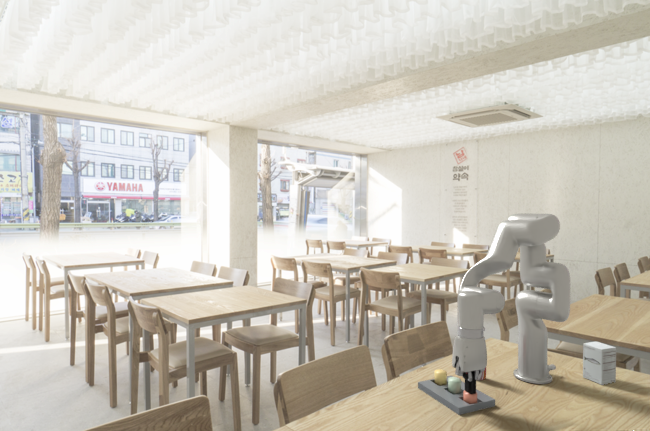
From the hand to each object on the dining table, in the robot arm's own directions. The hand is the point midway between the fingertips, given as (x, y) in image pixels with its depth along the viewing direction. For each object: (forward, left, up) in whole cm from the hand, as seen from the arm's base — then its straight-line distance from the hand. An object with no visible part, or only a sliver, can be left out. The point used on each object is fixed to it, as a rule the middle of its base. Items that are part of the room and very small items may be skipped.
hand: (470, 392), depth 126 cm
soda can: (-18, -17, -6) cm, 25 cm away
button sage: (0, -7, -3) cm, 8 cm away
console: (0, -7, -5) cm, 9 cm away
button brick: (0, 0, -4) cm, 4 cm away
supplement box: (-58, +1, -6) cm, 58 cm away
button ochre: (0, -14, -3) cm, 14 cm away
